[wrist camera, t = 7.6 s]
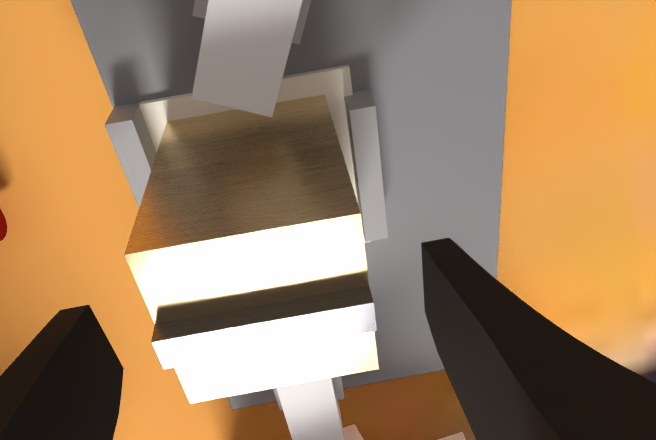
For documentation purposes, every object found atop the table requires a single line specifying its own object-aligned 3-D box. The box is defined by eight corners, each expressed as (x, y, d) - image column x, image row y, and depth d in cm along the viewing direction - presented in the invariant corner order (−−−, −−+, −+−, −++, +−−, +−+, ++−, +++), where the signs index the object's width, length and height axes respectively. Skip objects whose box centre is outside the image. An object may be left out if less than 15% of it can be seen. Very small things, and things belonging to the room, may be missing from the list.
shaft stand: (483, 342, 23) (520, 420, 20) (233, 389, 23) (230, 476, 20) (505, -216, 12) (593, -240, 9) (33, -135, 12) (-45, -131, 9)
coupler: (324, 94, 15) (365, 229, 10) (342, 223, 17) (382, 386, 12) (167, 121, 15) (118, 272, 9) (207, 246, 17) (188, 422, 12)
